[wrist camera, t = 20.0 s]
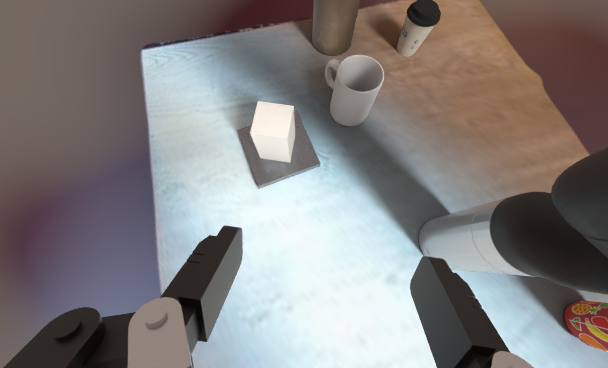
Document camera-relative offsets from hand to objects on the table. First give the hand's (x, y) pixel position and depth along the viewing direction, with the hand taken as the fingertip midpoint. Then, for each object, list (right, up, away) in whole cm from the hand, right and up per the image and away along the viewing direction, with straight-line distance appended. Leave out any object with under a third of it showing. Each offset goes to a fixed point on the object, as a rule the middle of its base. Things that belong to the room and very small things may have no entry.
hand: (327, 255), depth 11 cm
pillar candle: (+6, +38, +47) cm, 61 cm away
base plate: (-6, +10, +38) cm, 40 cm away
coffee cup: (+24, +36, +47) cm, 64 cm away
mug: (+8, +21, +42) cm, 47 cm away
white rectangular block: (-6, +11, +37) cm, 39 cm away
